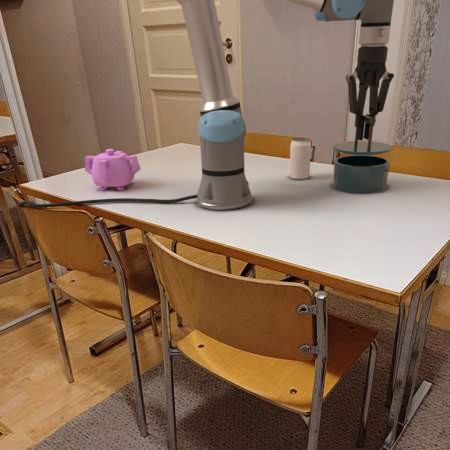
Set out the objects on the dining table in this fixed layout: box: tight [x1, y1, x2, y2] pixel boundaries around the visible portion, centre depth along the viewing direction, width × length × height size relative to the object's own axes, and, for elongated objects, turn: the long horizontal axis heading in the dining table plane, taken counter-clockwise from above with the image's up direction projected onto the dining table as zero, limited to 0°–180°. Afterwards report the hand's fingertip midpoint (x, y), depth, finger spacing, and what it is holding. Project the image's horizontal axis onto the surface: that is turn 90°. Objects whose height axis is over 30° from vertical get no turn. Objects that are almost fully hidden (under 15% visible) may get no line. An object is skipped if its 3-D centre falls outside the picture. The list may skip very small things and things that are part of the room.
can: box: [289, 136, 312, 181], centre depth 149 cm, size 6×6×12 cm
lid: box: [332, 114, 393, 156], centre depth 133 cm, size 17×17×10 cm
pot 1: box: [84, 148, 141, 191], centre depth 147 cm, size 18×17×12 cm
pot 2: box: [332, 154, 391, 194], centre depth 138 cm, size 16×16×8 cm
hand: (363, 139), depth 133 cm, fingers closed on lid, 2 cm apart
